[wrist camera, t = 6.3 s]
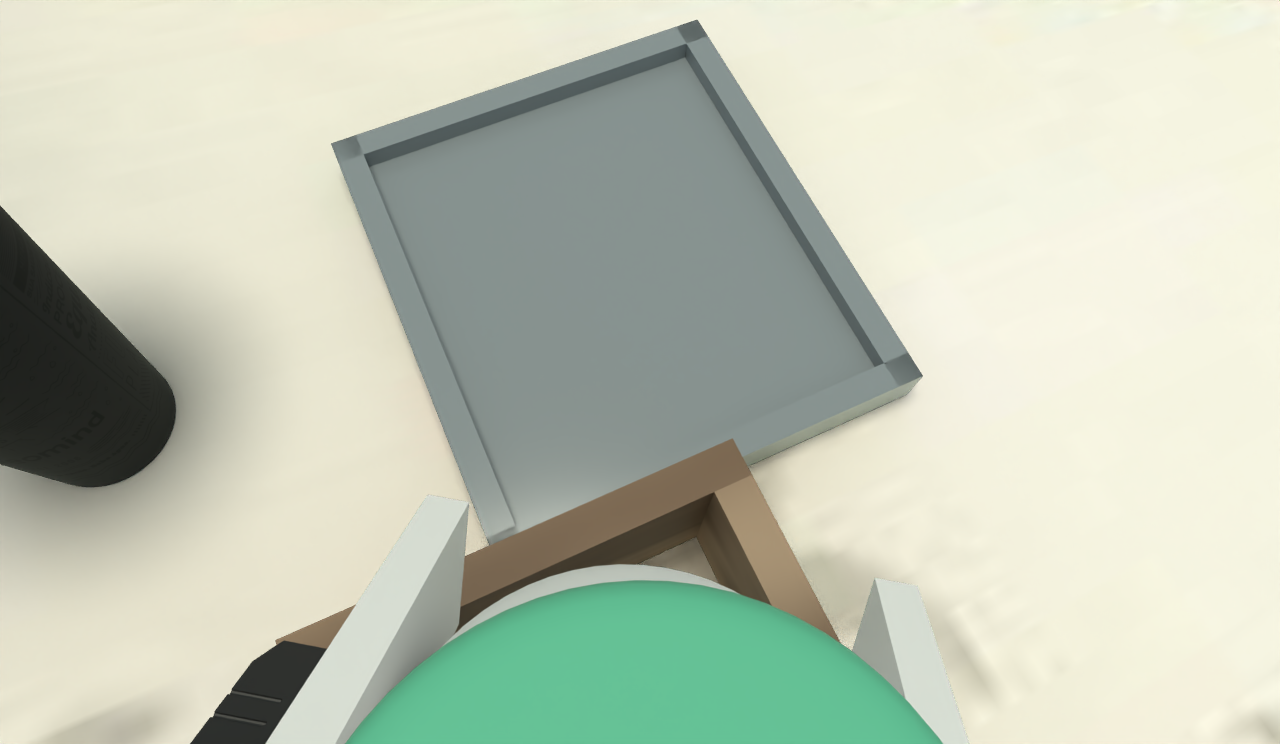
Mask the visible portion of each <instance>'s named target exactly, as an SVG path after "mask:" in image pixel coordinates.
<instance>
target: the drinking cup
mask: <svg viewBox="0 0 1280 744" xmlns="http://www.w3.org/2000/svg"><path fill="white" fill-rule="evenodd" d="M174 418H175V401H174V396H173V393H172V390H171V388H170V386H169V384H168V383H167V381H166V380H165V379H164V378H163V376H162V375H161V374H160V373H159V372H158V371H157V370H156V369H155V368H154V367H153V366H152V365H151V364H150V363H149V362H148V361H147V360H146V358H145V357H144V356H143V355H142V354H141V353H140V352H139V351H138V350H137V349H136V348H135V347H134V346H133V345H132V344H131V343H130V342H129V341H128V340H127V338H126V337H125V336H124V335H123V334H122V333H121V332H120V331H119V330H118V329H117V328H116V327H115V326H114V325H113V324H112V323H111V322H110V321H109V320H108V319H107V317H106V316H105V315H104V314H103V313H102V312H101V311H100V310H99V309H98V308H97V307H96V306H95V305H94V304H93V303H92V302H91V301H90V300H89V299H88V297H87V296H86V295H85V294H84V293H83V292H82V291H81V290H80V289H79V288H78V287H77V286H76V285H75V284H74V283H73V282H72V281H71V280H70V279H69V278H68V276H67V275H66V274H65V273H64V272H63V271H62V270H61V269H60V268H59V267H58V266H57V265H56V264H55V263H54V262H53V261H52V260H51V259H50V258H49V256H48V255H47V254H46V253H45V252H44V251H43V250H42V249H41V248H40V247H39V246H38V245H37V244H36V243H35V242H34V241H33V240H32V239H31V238H30V237H29V235H28V234H27V233H26V232H25V231H24V230H23V229H22V228H21V227H20V226H19V225H18V224H17V223H16V222H15V221H14V220H13V219H12V218H11V217H10V215H9V214H8V213H7V212H6V211H5V210H4V209H3V208H2V207H1V206H0V464H1V465H5V466H8V467H12V468H15V469H19V470H22V471H26V472H29V473H32V474H36V475H39V476H43V477H46V478H50V479H53V480H57V481H60V482H64V483H67V484H71V485H75V486H81V487H98V486H105V485H109V484H113V483H116V482H119V481H121V480H124V479H126V478H128V477H130V476H132V475H134V474H135V473H137V472H138V471H140V470H141V469H142V468H144V467H145V466H146V465H147V464H149V463H150V462H151V461H152V460H153V459H154V458H155V457H156V455H157V454H158V453H159V452H160V451H161V449H162V448H163V446H164V445H165V443H166V441H167V440H168V437H169V435H170V433H171V430H172V427H173V424H174Z"/></svg>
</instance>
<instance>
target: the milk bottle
mask: <svg viewBox="0 0 1280 744" xmlns="http://www.w3.org/2000/svg"><path fill="white" fill-rule="evenodd" d="M345 744H943V743H942V741H941V740H940V739H939V737H938V736H937V735H936V734H935V733H934V732H933V730H932V729H931V728H930V727H929V726H928V724H927V723H926V722H925V721H924V720H923V718H922V717H921V716H920V715H919V714H918V713H917V711H916V710H915V709H914V708H913V707H912V706H911V704H910V703H909V702H908V701H907V700H906V699H905V698H904V697H903V696H902V695H901V694H900V693H899V692H898V691H897V690H896V689H895V688H894V687H893V686H892V685H891V684H890V683H889V682H888V681H887V680H886V679H885V678H884V677H883V676H882V675H880V674H879V673H878V672H877V671H876V670H874V669H873V668H872V667H871V666H870V665H868V664H867V663H866V662H865V661H864V660H862V659H861V658H860V657H859V656H858V655H856V654H855V653H854V652H852V651H851V650H849V649H848V648H847V647H845V646H844V645H842V644H841V643H839V642H838V641H836V640H835V639H834V638H832V637H831V636H829V635H828V634H826V633H825V632H823V631H821V630H819V629H817V628H816V627H814V626H812V625H810V624H809V623H807V622H805V621H803V620H801V619H800V618H798V617H796V616H794V615H792V614H789V613H787V612H785V611H783V610H780V609H778V608H776V607H774V606H771V605H769V604H767V603H764V602H761V601H758V600H755V599H752V598H749V597H746V596H743V595H740V594H739V593H737V592H735V591H733V590H731V589H729V588H727V587H725V586H722V585H720V584H718V583H716V582H713V581H711V580H708V579H705V578H702V577H699V576H696V575H693V574H690V573H687V572H682V571H678V570H673V569H669V568H664V567H656V566H648V565H627V564H616V565H603V566H593V567H588V568H582V569H576V570H571V571H568V572H564V573H561V574H557V575H554V576H550V577H547V578H545V579H542V580H540V581H537V582H535V583H532V584H529V585H527V586H525V587H523V588H521V589H519V590H517V591H515V592H513V593H511V594H509V595H507V596H505V597H504V598H502V599H501V600H499V601H497V602H496V603H494V604H493V605H491V606H489V607H488V608H486V609H485V610H483V611H482V612H481V613H479V614H478V615H477V616H476V617H474V618H473V619H472V620H470V621H469V622H468V623H466V624H465V625H464V626H463V627H462V628H461V629H460V630H459V631H458V632H456V633H455V634H454V635H453V636H452V637H451V638H450V639H449V640H448V641H447V642H446V643H445V644H444V645H443V646H442V647H441V648H440V649H439V650H437V651H436V652H435V653H433V654H432V655H431V656H429V657H428V658H427V659H426V660H424V661H423V662H422V663H420V664H419V665H418V666H417V667H415V668H414V669H413V670H412V671H411V672H410V673H409V674H408V675H407V676H405V677H404V678H403V679H402V680H401V681H400V682H399V683H398V684H397V685H396V686H395V687H394V688H393V689H391V690H390V691H389V692H388V693H387V694H386V695H385V696H384V698H383V699H382V700H381V701H380V702H379V703H378V704H377V705H376V706H375V708H374V709H373V710H372V711H371V712H370V713H369V714H368V715H367V716H366V717H365V719H364V720H363V721H362V722H361V723H360V725H359V726H358V727H357V728H356V730H355V731H354V732H353V734H352V735H351V736H350V738H349V739H348V740H347V742H346V743H345Z"/></svg>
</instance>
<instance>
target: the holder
mask: <svg viewBox="0 0 1280 744" xmlns="http://www.w3.org/2000/svg"><path fill="white" fill-rule="evenodd" d="M695 537H697V539H698V541H699V543H700V545H701V547H702V549H703V551H704V553H705V555H706V558H707V560H708V562H709V564H710V566H711V568H712V570H713V572H714V574H715V576H716V578H717V580H718V582H719V584H720V585H722V586H725V587H727V588H729V589H731V590H733V591H735V592H737V593H739V594H740V595H743V596H746V597H749V598H752V599H755V600H758V601H761V602H764V603H767V604H769V605H771V606H774V607H776V608H778V609H780V610H783V611H785V612H787V613H789V614H792V615H794V616H796V617H798V618H800V619H801V620H803V621H805V622H807V623H809V624H810V625H812V626H814V627H816V628H817V629H819V630H821V631H823V632H825V633H826V634H828V635H829V636H831V637H832V638H834V639H835V640H836V641H838V642H839V643H840V641H839V639H838V637H837V635H836V633H835V632H834V630H833V628H832V626H831V624H830V622H829V620H828V618H827V616H826V614H825V613H824V611H823V609H822V607H821V605H820V603H819V601H818V599H817V597H816V595H815V594H814V592H813V590H812V588H811V586H810V584H809V582H808V580H807V578H806V576H805V575H804V573H803V571H802V569H801V567H800V565H799V563H798V561H797V559H796V557H795V556H794V554H793V552H792V550H791V548H790V546H789V544H788V542H787V540H786V538H785V537H784V535H783V533H782V531H781V529H780V527H779V525H778V523H777V521H776V519H775V518H774V516H773V514H772V512H771V510H770V508H769V506H768V504H767V502H766V500H765V499H764V497H763V495H762V493H761V491H760V489H759V487H758V485H757V483H756V481H755V480H754V478H753V476H752V474H751V472H750V470H749V468H748V466H747V464H746V462H745V461H744V459H743V457H742V455H741V453H740V451H739V449H738V447H737V445H736V443H735V442H734V440H733V438H732V439H730V440H727V441H725V442H723V443H721V444H718V445H716V446H714V447H711V448H709V449H707V450H705V451H702V452H700V453H698V454H696V455H693V456H691V457H689V458H687V459H684V460H682V461H680V462H678V463H675V464H673V465H671V466H669V467H666V468H664V469H662V470H659V471H657V472H655V473H653V474H650V475H648V476H646V477H644V478H641V479H639V480H637V481H635V482H632V483H630V484H628V485H626V486H623V487H621V488H619V489H616V490H614V491H612V492H610V493H607V494H605V495H603V496H601V497H598V498H596V499H594V500H592V501H589V502H587V503H585V504H583V505H580V506H578V507H576V508H574V509H571V510H569V511H567V512H564V513H562V514H560V515H558V516H555V517H553V518H551V519H549V520H546V521H544V522H542V523H540V524H537V525H535V526H533V527H531V528H528V529H526V530H524V531H522V532H519V533H517V534H515V535H512V536H510V537H508V538H506V539H503V540H501V541H499V542H497V543H494V544H492V545H490V546H488V547H485V548H483V549H481V550H479V551H476V552H474V553H472V554H469V555H467V556H465V557H464V569H463V581H462V593H461V605H460V617H459V625H458V627H457V629H456V631H455V633H456V632H458V631H459V630H460V629H461V628H462V627H463V626H464V625H465V624H466V623H468V622H469V621H470V620H472V619H473V618H474V617H476V616H477V615H478V614H479V613H481V612H482V611H483V610H485V609H486V608H488V607H489V606H491V605H493V604H494V603H496V602H497V601H499V600H501V599H502V598H504V597H505V596H507V595H509V594H511V593H513V592H515V591H517V590H519V589H521V588H523V587H525V586H527V585H529V584H532V583H535V582H537V581H540V580H542V579H545V578H547V577H550V576H554V575H557V574H561V573H564V572H568V571H571V570H576V569H582V568H588V567H593V566H603V565H616V564H627V565H636V564H638V563H640V562H643V561H645V560H647V559H649V558H651V557H653V556H656V555H658V554H660V553H662V552H664V551H666V550H669V549H671V548H673V547H675V546H677V545H679V544H682V543H684V542H686V541H688V540H690V539H692V538H695ZM355 606H356V605H354V606H352V607H350V608H347V609H345V610H343V611H341V612H338V613H336V614H334V615H332V616H329V617H327V618H325V619H322V620H320V621H318V622H316V623H313V624H311V625H309V626H307V627H304V628H302V629H300V630H298V631H295V632H293V633H291V634H289V635H286V636H284V637H282V638H280V639H277V640H275V641H276V644H277V645H278V644H279V643H281V642H282V641H284V640H285V641H290V642H295V643H300V644H305V645H311V646H316V647H321V648H326V649H328V647H329V645H330V644H331V642H332V641H333V639H334V638H335V636H336V635H337V633H338V632H339V630H340V629H341V627H342V626H343V624H344V622H345V621H346V619H347V618H348V616H349V615H350V613H351V612H352V610H353V609H354V607H355ZM455 633H454V634H455Z"/></svg>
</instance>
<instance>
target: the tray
mask: <svg viewBox="0 0 1280 744" xmlns="http://www.w3.org/2000/svg"><path fill="white" fill-rule="evenodd" d="M331 145H332V147H333V150H334V153H335V155H336V158H337V160H338V163H339V165H340V168H341V170H342V173H343V175H344V178H345V180H346V183H347V186H348V188H349V191H350V193H351V196H352V198H353V201H354V203H355V206H356V208H357V211H358V213H359V216H360V218H361V221H362V224H363V226H364V229H365V231H366V234H367V236H368V239H369V241H370V244H371V246H372V249H373V251H374V254H375V257H376V259H377V262H378V264H379V267H380V269H381V272H382V274H383V277H384V279H385V282H386V284H387V287H388V289H389V292H390V295H391V297H392V300H393V302H394V305H395V307H396V310H397V312H398V315H399V317H400V320H401V322H402V325H403V328H404V330H405V333H406V335H407V338H408V340H409V343H410V345H411V348H412V350H413V353H414V355H415V358H416V361H417V363H418V366H419V368H420V371H421V373H422V376H423V378H424V381H425V383H426V386H427V388H428V391H429V393H430V396H431V399H432V401H433V404H434V406H435V409H436V411H437V414H438V416H439V419H440V421H441V424H442V426H443V429H444V432H445V434H446V437H447V439H448V442H449V444H450V447H451V449H452V452H453V454H454V457H455V459H456V462H457V464H458V467H459V470H460V472H461V475H462V477H463V480H464V482H465V485H466V487H467V490H468V492H469V495H470V497H471V500H472V503H473V505H474V508H475V510H476V513H477V515H478V518H479V520H480V523H481V525H482V528H483V530H484V533H485V536H486V538H487V541H488V543H489V546H490V545H492V544H494V543H497V542H499V541H501V540H503V539H506V538H508V537H510V536H512V535H515V534H517V533H519V532H522V531H524V530H526V529H528V528H531V527H533V526H535V525H537V524H540V523H542V522H544V521H546V520H549V519H551V518H553V517H555V516H558V515H560V514H562V513H564V512H567V511H569V510H571V509H574V508H576V507H578V506H580V505H583V504H585V503H587V502H589V501H592V500H594V499H596V498H598V497H601V496H603V495H605V494H607V493H610V492H612V491H614V490H616V489H619V488H621V487H623V486H626V485H628V484H630V483H632V482H635V481H637V480H639V479H641V478H644V477H646V476H648V475H650V474H653V473H655V472H657V471H659V470H662V469H664V468H666V467H669V466H671V465H673V464H675V463H678V462H680V461H682V460H684V459H687V458H689V457H691V456H693V455H696V454H698V453H700V452H702V451H705V450H707V449H709V448H711V447H714V446H716V445H718V444H721V443H723V442H725V441H727V440H730V439H732V438H733V440H734V442H735V443H736V445H737V447H738V449H739V451H740V453H741V455H742V457H743V459H744V461H745V462H746V464H747V466H750V465H752V464H754V463H756V462H759V461H761V460H763V459H765V458H767V457H770V456H772V455H774V454H776V453H779V452H781V451H783V450H785V449H787V448H790V447H792V446H794V445H796V444H799V443H801V442H803V441H805V440H807V439H810V438H812V437H814V436H816V435H819V434H821V433H823V432H825V431H827V430H830V429H832V428H834V427H836V426H838V425H841V424H843V423H845V422H847V421H850V420H852V419H854V418H856V417H858V416H861V415H863V414H865V413H867V412H870V411H872V410H874V409H876V408H878V407H881V406H883V405H885V404H887V403H890V402H892V401H894V400H896V399H898V398H901V397H903V396H905V395H907V394H908V393H909V392H910V391H911V389H912V388H913V387H914V386H915V385H916V384H917V382H918V381H919V380H920V379H921V378H922V377H923V375H922V374H921V372H920V371H919V369H918V368H917V366H916V364H915V363H914V361H913V360H912V358H911V356H910V355H909V353H908V352H907V350H906V349H905V347H904V345H903V344H902V342H901V341H900V339H899V338H898V336H897V334H896V333H895V331H894V330H893V328H892V326H891V325H890V323H889V322H888V320H887V319H886V317H885V315H884V314H883V312H882V311H881V309H880V308H879V306H878V304H877V303H876V301H875V300H874V298H873V296H872V295H871V293H870V292H869V290H868V289H867V287H866V285H865V284H864V282H863V281H862V279H861V277H860V276H859V274H858V273H857V271H856V270H855V268H854V266H853V265H852V263H851V262H850V260H849V259H848V257H847V255H846V254H845V252H844V251H843V249H842V247H841V246H840V244H839V243H838V241H837V240H836V238H835V236H834V235H833V233H832V232H831V230H830V228H829V227H828V225H827V224H826V222H825V221H824V219H823V217H822V216H821V214H820V213H819V211H818V210H817V208H816V206H815V205H814V203H813V202H812V200H811V198H810V197H809V195H808V194H807V192H806V191H805V189H804V187H803V186H802V184H801V183H800V181H799V180H798V178H797V176H796V175H795V173H794V172H793V170H792V168H791V167H790V165H789V164H788V162H787V161H786V159H785V157H784V156H783V154H782V153H781V151H780V149H779V148H778V146H777V145H776V143H775V142H774V140H773V138H772V137H771V135H770V134H769V132H768V131H767V129H766V127H765V126H764V124H763V123H762V121H761V119H760V118H759V116H758V115H757V113H756V112H755V110H754V108H753V107H752V105H751V104H750V102H749V100H748V99H747V97H746V96H745V94H744V93H743V91H742V89H741V88H740V86H739V85H738V83H737V82H736V80H735V78H734V77H733V75H732V74H731V72H730V70H729V69H728V67H727V66H726V64H725V63H724V61H723V59H722V58H721V56H720V55H719V53H718V52H717V50H716V48H715V47H714V45H713V44H712V42H711V40H710V39H709V37H708V36H707V34H706V33H705V31H704V29H703V28H702V26H701V25H700V23H699V21H698V20H695V21H692V22H689V23H686V24H683V25H680V26H677V27H674V28H671V29H668V30H665V31H662V32H659V33H656V34H653V35H650V36H647V37H644V38H641V39H638V40H636V41H633V42H630V43H627V44H624V45H621V46H618V47H615V48H612V49H609V50H606V51H603V52H600V53H597V54H594V55H591V56H588V57H585V58H582V59H579V60H576V61H574V62H571V63H568V64H565V65H562V66H559V67H556V68H553V69H550V70H547V71H544V72H541V73H538V74H535V75H532V76H529V77H526V78H523V79H520V80H517V81H514V82H512V83H509V84H506V85H503V86H500V87H497V88H494V89H491V90H488V91H485V92H482V93H479V94H476V95H473V96H470V97H467V98H464V99H461V100H458V101H455V102H452V103H449V104H447V105H444V106H441V107H438V108H435V109H432V110H429V111H426V112H423V113H420V114H417V115H414V116H411V117H408V118H405V119H402V120H399V121H396V122H393V123H390V124H387V125H385V126H382V127H379V128H376V129H373V130H370V131H367V132H364V133H361V134H358V135H355V136H352V137H349V138H346V139H343V140H340V141H337V142H334V143H331Z"/></svg>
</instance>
